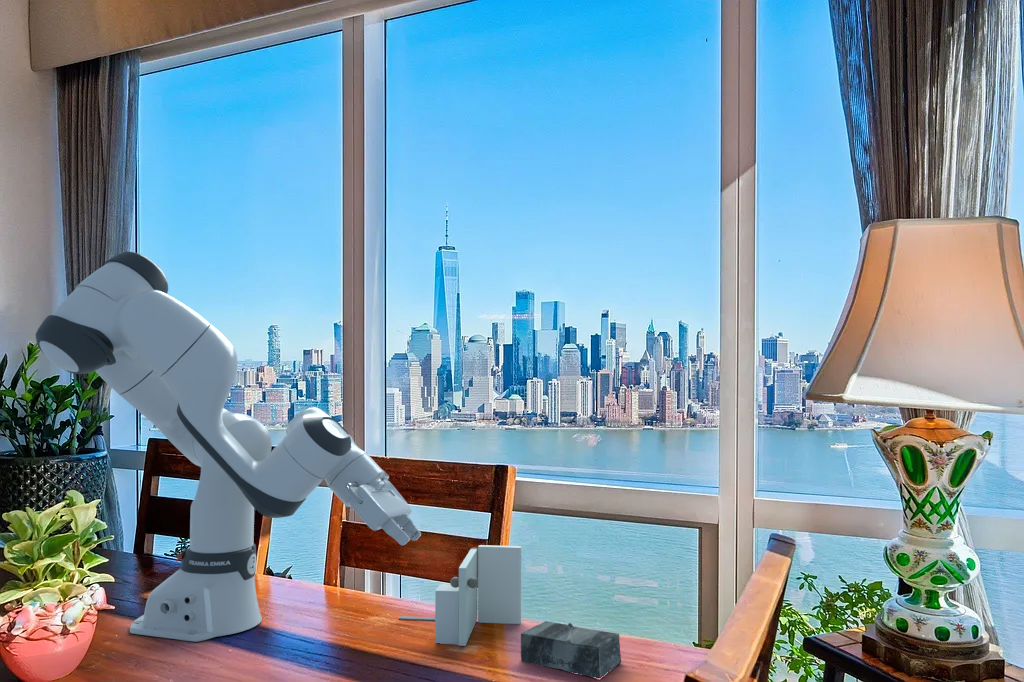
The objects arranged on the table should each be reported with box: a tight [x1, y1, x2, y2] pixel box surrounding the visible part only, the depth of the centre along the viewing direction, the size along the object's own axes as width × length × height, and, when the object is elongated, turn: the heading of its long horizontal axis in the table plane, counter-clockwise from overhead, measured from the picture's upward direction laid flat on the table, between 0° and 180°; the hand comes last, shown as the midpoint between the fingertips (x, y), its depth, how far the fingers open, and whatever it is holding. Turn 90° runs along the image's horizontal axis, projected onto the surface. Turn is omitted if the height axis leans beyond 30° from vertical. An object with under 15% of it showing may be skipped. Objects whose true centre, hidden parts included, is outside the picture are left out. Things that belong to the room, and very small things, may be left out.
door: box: [449, 547, 478, 647], centre depth 138 cm, size 15×5×13 cm, turn 174°
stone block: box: [520, 620, 622, 678], centre depth 125 cm, size 9×14×5 cm, turn 57°
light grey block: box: [434, 583, 459, 645], centre depth 135 cm, size 4×4×9 cm
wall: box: [398, 544, 522, 625], centre depth 145 cm, size 23×1×14 cm, turn 84°
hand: (412, 540), depth 135 cm, fingers open, 8 cm apart
